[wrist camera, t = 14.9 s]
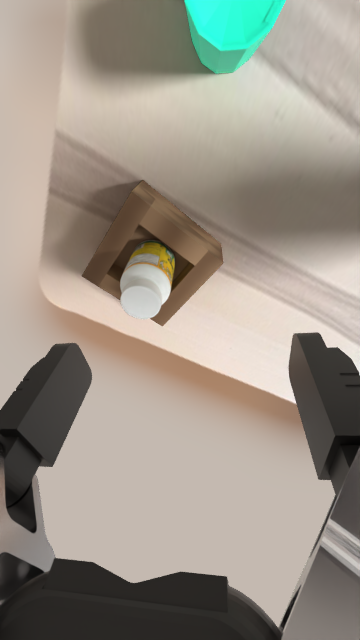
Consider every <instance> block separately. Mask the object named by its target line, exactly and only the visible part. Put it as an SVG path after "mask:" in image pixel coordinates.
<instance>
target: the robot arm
mask: <svg viewBox="0 0 360 640" xmlns="http://www.w3.org/2000/svg"><path fill="white" fill-rule="evenodd" d="M289 377H290V382H291V386H292V389H293V393H294V396H295V400H296V403H297V407H298V410H299V413H300V417H301V420H302V424H303V427H304V431H305V434H306V438H307V441H308V444H309V448H310V452H311V455H312V458H313V462H314V465H315V469H316V472H317V476H318V479H320V480H331V482H332V485H333V488H334V491H335V494H336V495H335V497H334V499H333V501H332V504H331V506H330V508H329V511H328V513H327V516H326V518H325V520H324V523H323V525H322V527H321V530H320V532H319V534H318V537H317V539H316V542H315V544H314V546H313V549H312V551H311V553H310V556H309V558H308V560H307V563H306V565H305V567H304V569H303V571H302V574H301V576H300V578H299V581H298V583H297V585H296V587H295V589H294V592H293V594H292V597H291V599H290V601H289V604H288V606H287V609H286V611H285V613H284V616H283V618H282V621H281V622H280V625H279V627H277V626H276V625H275V623H274V622H273V621H272V620H271V619H270V617H269V616H268V615H267V614H266V613H265V612H264V611H263V610H262V609H261V608H260V607H259V606H258V605H257V604H256V603H255V602H254V601H252V600H251V599H250V598H249V597H247V596H246V595H244V594H243V593H241V592H240V591H238V590H236V589H234V588H232V587H230V586H229V585H228V580H227V577H225V576H216V575H206V574H197V573H188V572H178V573H174V574H170V575H166V576H162V577H158V578H154V579H150V580H146V581H143V582H138V583H130V582H128V581H126V580H124V579H122V578H121V577H119V576H117V575H115V574H113V573H111V572H110V571H108V570H106V569H104V568H103V567H101V566H99V565H97V564H95V563H93V562H85V561H77V560H67V559H58V558H56V557H55V554H54V551H53V549H52V547H51V546H50V544H49V542H48V540H47V537H46V534H45V529H44V521H43V514H42V507H41V500H40V492H39V485H38V479H37V476H36V475H35V473H36V471H37V469H38V467H39V466H44V467H46V466H47V467H52V466H53V465H54V462H55V460H56V458H57V456H58V454H59V451H60V449H61V447H62V445H63V443H64V441H65V439H66V437H67V434H68V432H69V430H70V428H71V426H72V423H73V421H74V419H75V417H76V415H77V413H78V410H79V408H80V406H81V404H82V402H83V400H84V398H85V395H86V393H87V391H88V389H89V387H90V384H91V380H92V373H91V369H90V367H89V365H88V363H87V361H86V359H85V357H84V355H83V353H82V351H81V349H80V348H79V346H78V345H77V344H76V343H66V344H55V345H54V346H53V347H52V348H51V349H50V351H49V352H48V354H47V355H46V357H45V358H42V359H41V360H40V361H39V362H37V363H36V364H35V365H34V366H33V367H32V368H31V369H30V370H29V371H28V373H27V374H26V376H25V377H24V378H23V381H21V382H20V384H19V385H18V387H17V388H16V391H14V392H13V393H12V395H11V396H10V398H9V399H8V401H7V402H6V403H5V405H4V406H3V407H2V409H1V410H0V640H360V376H359V372H358V370H357V368H356V366H355V365H354V363H353V361H352V359H351V358H350V357H348V356H347V355H346V354H345V353H344V352H342V351H341V350H340V349H339V348H338V347H337V348H327V347H326V345H325V343H324V341H323V339H322V337H321V335H320V334H319V333H296V334H294V335H293V338H292V345H291V353H290V360H289Z"/></svg>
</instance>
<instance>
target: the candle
mask: <svg viewBox="0 0 360 640" xmlns="http://www.w3.org/2000/svg"><path fill="white" fill-rule="evenodd" d="M184 1H185V6H186V12H187V17H188V22H189V27H190V33H191V38H192V43H193V45H194V47H195V50H196V52H197V54H198V57H199V59H200V61H201V63H202V64H203V65H205V66H206V67H207V68H209V69H210V70H212V71H213V72H214V73H216V74H218V73H232V72H234V71H235V70H237V69H238V68H239V67H240V66H242V65H243V64H244V63H245V62H247V61H248V60H249V59H250V57H251V56H252V55H253V53H254V52H255V51H256V49H257V48H258V47H259V45H260V44H261V43H262V41H263V40H264V39H265V37H266V36H267V34H268V33H269V32H270V30H271V29H272V27H273V25H274V23H275V21H276V19H277V17H278V15H279V13H280V11H281V9H282V7H283V5H284V3H285V1H286V0H184Z"/></svg>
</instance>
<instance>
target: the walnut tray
mask: <svg viewBox="0 0 360 640" xmlns="http://www.w3.org/2000/svg"><path fill="white" fill-rule="evenodd" d="M146 240H158V241H161V242H163V243H165V244H166V245H167V246H168V247H169V248H170V249H171V251H172V252H173V254H174V257H175V267H174V273H173V279H172V285H171V291H170V295H169V297H168V299H167V300H166V302H165V303H164V304H162V305H161V308H160V310H159V312H158V313H157V314H156V315H155V316H154V317H152V318H150V319H151V320H153V321H155V322H156V323H158V324H160V325H161V326H163V325H164V324H165V323H166V322H167V321H168V320H169V319H170V318H171V317H172V316H173V315H174V314H175V313H176V312H177V311H178V310H179V309H180V308H181V307H182V306H183V305H184V304H185V303H186V301H187V300H188V299H189V298H190V297H191V296H192V295H193V294H194V293H195V292H196V291H197V290H198V289H199V288H200V287H201V286H202V285H203V284H204V283H205V282H206V281H207V280H208V279H209V278H210V277H211V276H212V275H213V273H214V272H215V271H216V270H217V269H218V268H219V267H220V266H221V265H222V264H223V256H222V247H221V243H219V242H218V241H217V240H216V239H215V238H213V237H212V236H211V235H210V234H208V233H207V232H206V231H205V230H204V229H202V228H201V227H200V226H199V225H197V224H196V223H195V222H194V221H193V220H191V219H190V218H189V217H188V216H186V215H185V214H184V213H183V212H182V211H180V210H179V209H178V208H177V207H175V206H174V205H173V204H172V203H170V202H169V201H168V200H167V199H166V198H164V197H163V196H162V195H161V194H159V193H158V192H157V191H156V190H155V189H153V188H152V187H151V186H150V185H148V184H147V183H146V182H145V181H144V180H142V181H141V182H140V183H139V184H138V185H137V186H136V187H135V188H134V189H133V190H132V191H131V193H130V195H129V196H128V198H127V200H126V202H125V203H124V205H123V207H122V208H121V210H120V212H119V213H118V215H117V217H116V219H115V220H114V222H113V224H112V225H111V227H110V229H109V230H108V232H107V234H106V236H105V237H104V239H103V241H102V242H101V244H100V246H99V247H98V249H97V251H96V253H95V254H94V256H93V258H92V259H91V261H90V263H89V264H88V266H87V268H86V270H85V271H84V273H83V275H82V277H84V278H86V279H87V280H89V281H90V282H92V283H94V284H95V285H97V286H98V287H100V288H102V289H103V290H105V291H107V292H108V293H110V294H111V295H113V296H115V297H116V298H118V299H119V300H120V298H121V294H122V292H121V288H120V281H121V277H122V274H123V272H124V270H125V268H126V266H127V264H128V262H129V259H130V257H131V255H132V253H133V251H134V249H135V248H136V246H137V245H138V244H140V243H141V242H143V241H146Z"/></svg>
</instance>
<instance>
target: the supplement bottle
mask: <svg viewBox="0 0 360 640" xmlns="http://www.w3.org/2000/svg"><path fill="white" fill-rule="evenodd" d="M174 267H175V257H174V254H173V252H172V251H171V249H170V248H169V247H168V246H167V245H166V244H165V243H163V242H161V241H158V240H146V241H143V242H141V243H140V244H138V245H137V246H136V248H135V249H134V251H133V253H132V255H131V257H130V259H129V262H128V264H127V266H126V268H125V270H124V272H123V274H122V277H121V281H120V288H121V292H122V294H121V298H120V302H121V306H122V308H123V309H124V311H125V312H126V313H128V314H129V315H130V316H132V317H135V318H138V319H149V318H152V317H154V316H155V315H156V314H157V313H158V312H159V310H160V308H161V305H162V304H164V303H165V302H166V300H167V299H168V297H169V295H170V291H171V285H172V279H173V273H174Z"/></svg>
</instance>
